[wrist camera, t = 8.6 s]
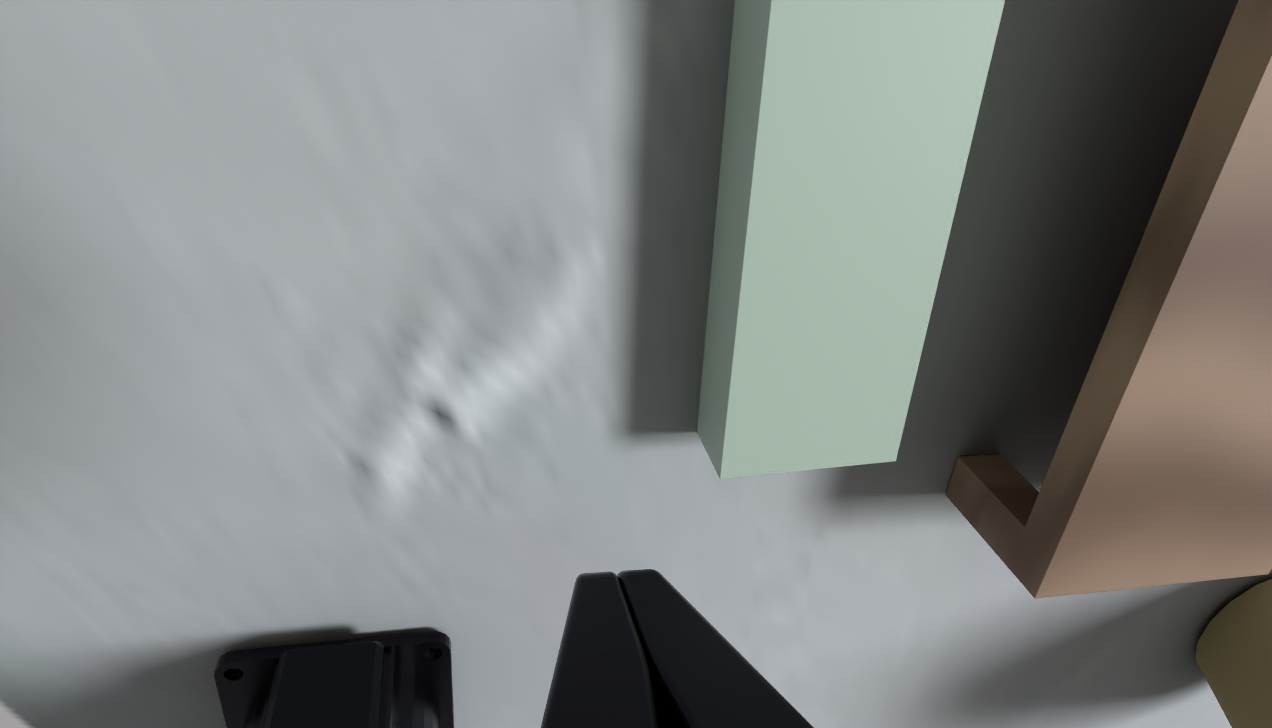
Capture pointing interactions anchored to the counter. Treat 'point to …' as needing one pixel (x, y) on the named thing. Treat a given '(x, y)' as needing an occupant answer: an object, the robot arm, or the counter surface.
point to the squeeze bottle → (1241, 658)
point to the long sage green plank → (833, 222)
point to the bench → (1167, 377)
